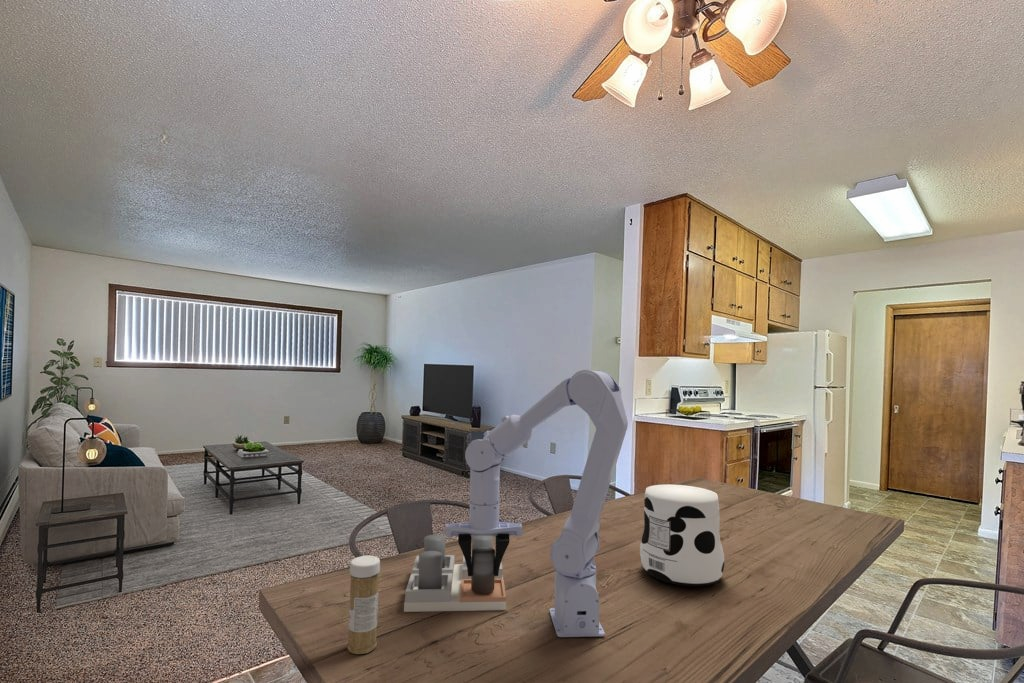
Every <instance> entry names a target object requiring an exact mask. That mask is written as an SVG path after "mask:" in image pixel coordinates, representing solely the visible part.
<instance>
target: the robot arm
mask: <svg viewBox="0 0 1024 683" xmlns="http://www.w3.org/2000/svg"><path fill="white" fill-rule="evenodd" d="M574 405H576V406H578V407H579V408H580V409H581V410H582V411H584V412H585V413H586V414H587V415H588V417H589V419H590V421H591V422H592V424H593V425H594V427H595V433H594V436H593V440H592V441H591V442H592V443H591V445H590V449H589V451H588V455H587V458H586V462H585V465H584V469H583V472H582V476H581V479H580V481H579V485H578V488H577V492H576V495H575V498H574V501H573V505H572V509H571V512H570V514H569V516H568V518H567V519H566V521H565V523H564V525H563V527H562V530H561V533H560V535H559V536H558V538H557V539H555V541H553V543H552V544H551V548H550V549H549V550H550V551H549V552H550V553H549V554H550V555H549V556H550V560H551V564H552V566H553V567H554V607H551V608H549V614H550V618H551V621H552V624H553V627H554V630H555V634H556V636H557V637H558V638H581V637H582V638H584V637H586V638H587V637H589V638H590V637H604V636H605V635H606V632H605V630H604V628H603V627H602V624H601V622H600V596H599V593H598V591H597V565H596V563H595V562H596V561H595V560H594V557H595V556H596V555H597V554H598V552H599V549H600V538H599V530H600V528H601V522H600V519H601V514H602V512H603V508H604V504H605V501H606V498H607V495H608V491H609V489H610V486H611V482H612V478H613V475H614V473H615V470H616V465H617V462H618V460H619V455H620V453H621V450H622V446H623V443H624V439H625V436H626V433H627V430H628V424H629V423H628V422H629V420H628V418H627V415H626V409H625V406H624V403H623V398H622V388H621V386H620V385H619V384H618V382H617V381H616V380H615V378H614V377H613V376H612V375H611V374H610V373H609V372H608V371H606V370H601V369H599V370H598V369H597V370H590V369H581V370H579V371H576V372H575V373H574V374H572V376H570V377H567V378H566V379H564V380H562V381H561V382H560V383H559V384H557V385H556V386H555V387H554V388H553V389H551V390H550V391H549V392H548V393H547V394H546V395H544V396H543V397H542V398H540V399H539V400H538V401H537V402H536V403H535V404H534V405H532V406H531V407H530V408H528V409H527V410H526V412H524V413H523V414H522V415H519V414H511V415H505V416H503V417H501V419H500V421H501V423H499V424H497V426H495V427H494V428H493V429H491V430H486V431H485V432H484V433H483V438H482V439H479V438H478V439H474V440H472V441H471V442H470V443H469V444H468V446H467V447H466V449H465V453H464V456H465V457H464V458H465V462H466V464H467V465H468V467H469V468H470V469H469V470H470V473H469V513H468V514H469V520H468V521H465V522H456V523H446V525H445V538H451V537H458V546H459V548H460V550H461V552H462V555H464V558H465V561H466V565H467V570H468V576H472V561H471V555H472V537H473V536H493V537H494V536H495V576H498V574H499V568H500V564H501V562H502V560H503V557H504V556H505V552H506V550H507V549H508V547H509V544H510V540H511V539H510V536H516V537H517V538H518V537H523V525H522V523H520V522H519V523H516V522H515V523H514V522H503V521H500V483H501V482H500V480H501V479H500V477H501V476H500V475H501V474H500V473H501V465H502V464H503V463H504V462H505V459H506V458H507V457H509V456H510V455H511V454H512V453H514V452H515V451H517V450H518V449H519V448H521V447H522V446H523V445H525V444H526V443H527V442H529V441H530V440H531V437H532V435H533V434H532V432H533V429H535V428H536V427H538V426H539V425H540V424H542V423H543V422H545V421H546V420H548V419H549V418H551V417H552V416H553V415H555V414H556V413H558V412H559V411H561V410H563V409H564V408H565V407H570V406H574Z"/></svg>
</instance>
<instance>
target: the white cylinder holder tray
mask: <svg viewBox="0 0 1024 683" xmlns="http://www.w3.org/2000/svg"><path fill="white" fill-rule="evenodd" d="M478 547H490V548H493V549H494V536H471V551H472V550H473V549H474V548H478ZM462 555H463V554H462ZM471 561H472V554H471ZM502 563H503V562H502V561H501V564H500V568H499V574H498V576H495V581H494V590H493V591H492V592H489V593H476V592H474V591H472V590H471V577H472V576H468V570H467V565H466V561H465V558H464V555H463V556H462V564H461V563H458V564H457V563H456V564H455V554H453V555H452V554H446V535H443V534H428V535H426V536H424V537H423V551H422V552H421V553H419V554H418V555H416V557H415V560H414V563H413V567H412V570H411V573H410V576H409V579H408V583H407V586H406V589H405V595H404V596H405V599H404V602H403V613H408V612H409V613H411V612H417V613H418V612H466V611H467V612H468V611H469V612H470V611H471V612H472V611H473V612H474V611H475V612H477V611H507V593H506V586H505V580H504V577H503V564H502Z"/></svg>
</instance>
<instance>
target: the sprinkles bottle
mask: <svg viewBox="0 0 1024 683" xmlns="http://www.w3.org/2000/svg"><path fill="white" fill-rule="evenodd" d="M380 571H381V560H380V558H379V557H378V556H375V555H362V556H361V555H360V556H358V557H355V558H353V559H352V560H351V561H350V564H349V575H350V592H349V593H350V594H349V602H348V607H349V608H348V626H347V627H348V641H347V650H348V652H349V653H351V654H353V655H364V654H368V653H370V652H372V651H373V650H375V649H376V648H377V645H378V641H377V628H378V620H379V619H378V615H379V613H378V612H379V574H380Z"/></svg>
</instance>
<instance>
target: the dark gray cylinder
mask: <svg viewBox="0 0 1024 683" xmlns="http://www.w3.org/2000/svg"><path fill="white" fill-rule="evenodd" d="M495 552H496V549H495V548H494V547H493V548H490V547H478V548H474V549H473V550H472V549H471V555H472V577H471V590H472V591H474V592H476V593H489V592H492V591H493V590H494V581H495Z"/></svg>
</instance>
